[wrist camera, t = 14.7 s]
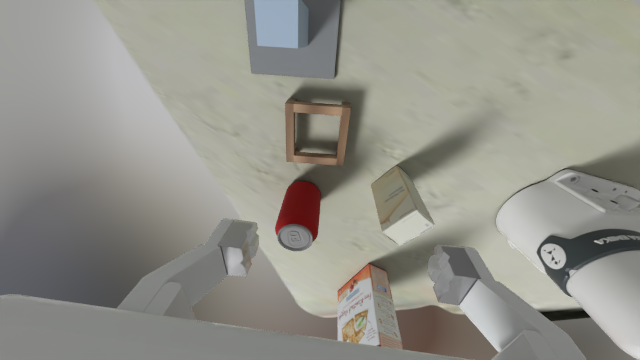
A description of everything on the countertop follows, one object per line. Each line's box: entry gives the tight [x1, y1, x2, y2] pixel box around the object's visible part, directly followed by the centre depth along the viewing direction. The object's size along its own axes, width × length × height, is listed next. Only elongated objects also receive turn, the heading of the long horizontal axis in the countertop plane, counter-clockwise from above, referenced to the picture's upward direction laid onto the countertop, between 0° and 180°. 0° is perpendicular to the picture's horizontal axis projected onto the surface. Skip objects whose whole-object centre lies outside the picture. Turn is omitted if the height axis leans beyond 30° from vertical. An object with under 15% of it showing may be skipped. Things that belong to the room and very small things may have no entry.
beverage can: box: [275, 181, 321, 251], centre depth 39 cm, size 7×7×12 cm
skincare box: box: [371, 166, 435, 246], centre depth 37 cm, size 6×4×12 cm
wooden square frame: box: [285, 99, 351, 166], centre depth 36 cm, size 9×9×3 cm
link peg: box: [254, 0, 309, 48], centre depth 26 cm, size 4×4×10 cm
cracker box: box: [338, 264, 403, 350], centre depth 49 cm, size 14×6×21 cm, turn 150°
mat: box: [245, 0, 341, 79], centre depth 30 cm, size 12×12×1 cm
